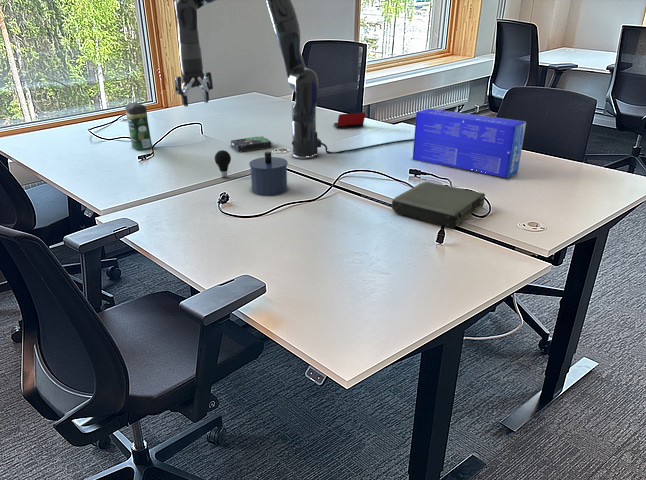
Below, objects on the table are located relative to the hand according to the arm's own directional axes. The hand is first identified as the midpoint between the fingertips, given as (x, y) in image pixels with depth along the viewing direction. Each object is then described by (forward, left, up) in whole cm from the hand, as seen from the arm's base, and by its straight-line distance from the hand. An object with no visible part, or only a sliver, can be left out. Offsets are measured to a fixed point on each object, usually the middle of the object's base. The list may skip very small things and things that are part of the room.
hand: (196, 104), depth 213 cm
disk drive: (-23, -21, -24) cm, 39 cm away
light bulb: (-6, +15, -24) cm, 29 cm away
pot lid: (-19, +33, -15) cm, 41 cm away
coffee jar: (+22, -37, -24) cm, 49 cm away
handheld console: (-73, -38, -24) cm, 86 cm away
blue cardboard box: (-93, +32, -24) cm, 101 cm away
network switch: (-64, +69, -24) cm, 97 cm away
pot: (-19, +33, -24) cm, 45 cm away
